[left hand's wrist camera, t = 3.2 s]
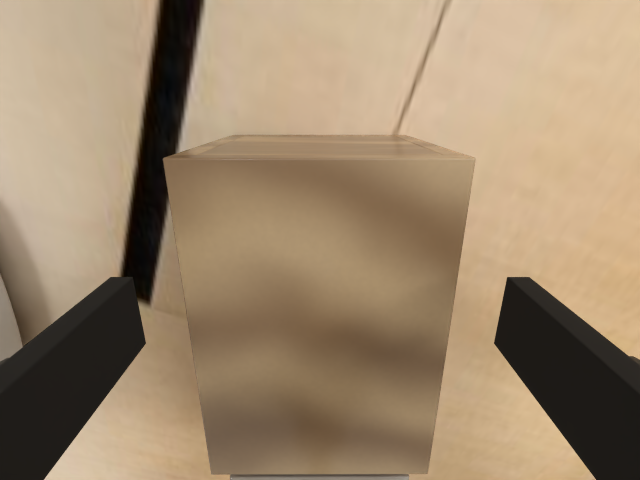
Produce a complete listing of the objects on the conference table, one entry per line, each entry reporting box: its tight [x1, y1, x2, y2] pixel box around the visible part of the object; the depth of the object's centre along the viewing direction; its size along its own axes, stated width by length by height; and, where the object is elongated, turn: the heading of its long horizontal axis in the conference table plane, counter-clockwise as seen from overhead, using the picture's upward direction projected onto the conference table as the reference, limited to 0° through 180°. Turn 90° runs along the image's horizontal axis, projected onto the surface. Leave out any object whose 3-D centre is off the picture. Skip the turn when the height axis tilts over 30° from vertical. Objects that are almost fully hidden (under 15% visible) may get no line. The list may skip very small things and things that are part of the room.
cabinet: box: [163, 135, 475, 474], centre depth 21 cm, size 16×11×11 cm
